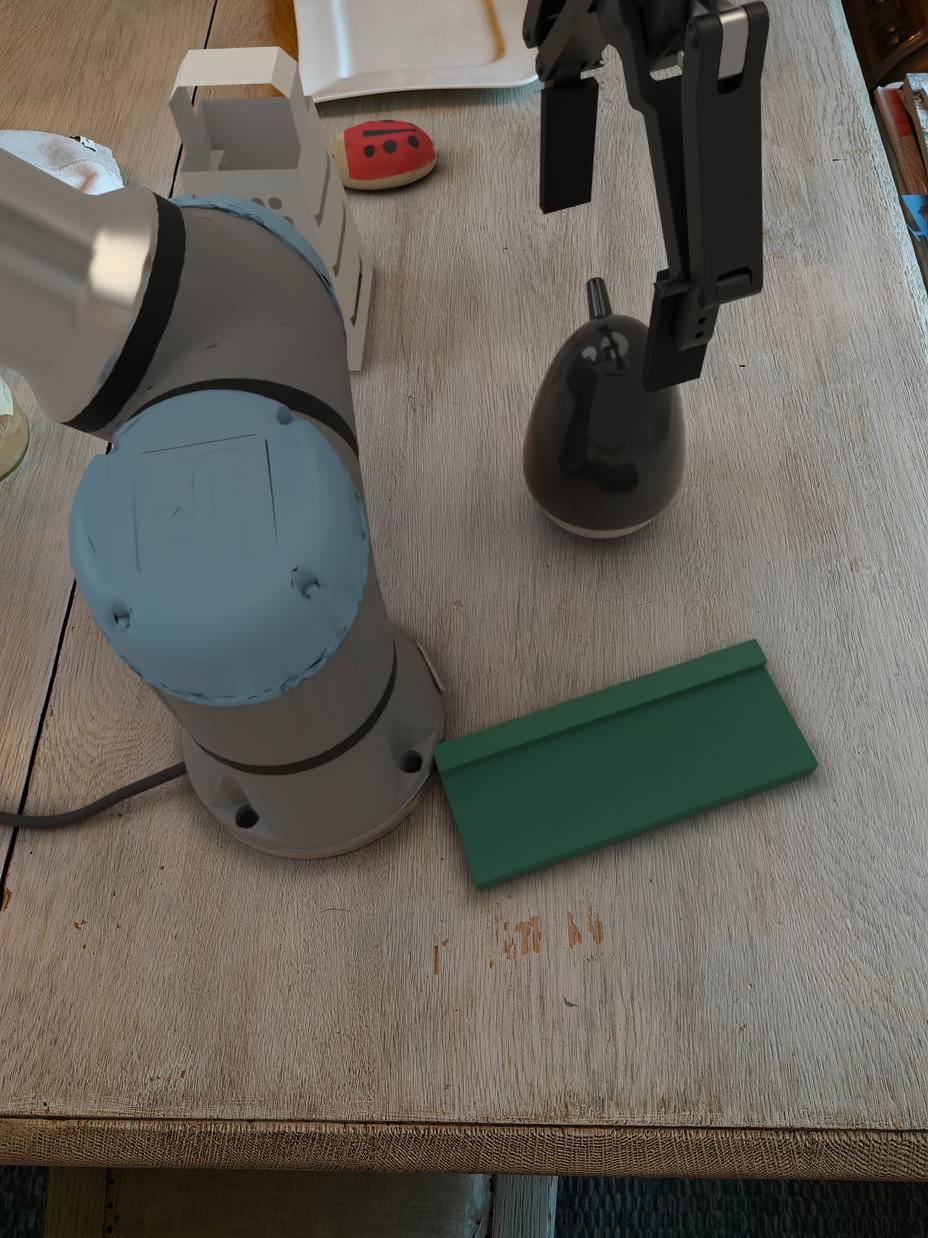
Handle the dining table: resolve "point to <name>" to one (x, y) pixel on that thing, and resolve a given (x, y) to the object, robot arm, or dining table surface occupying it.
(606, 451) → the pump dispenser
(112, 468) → the robot arm
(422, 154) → the ladybug figurine
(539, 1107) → the dining table surface
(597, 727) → the green ledged plate
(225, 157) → the grater
